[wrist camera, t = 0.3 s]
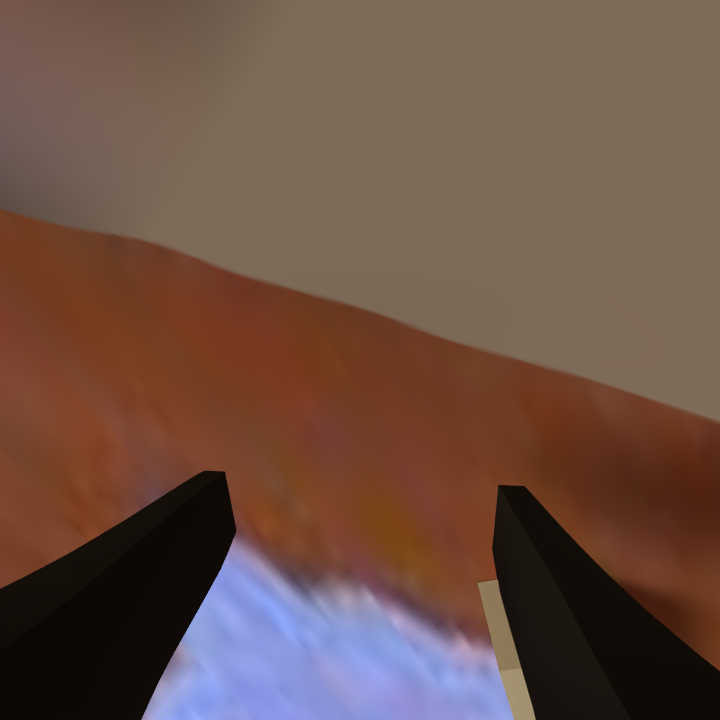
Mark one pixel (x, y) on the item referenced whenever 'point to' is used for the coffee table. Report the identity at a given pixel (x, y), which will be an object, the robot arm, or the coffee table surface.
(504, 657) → the block with holes
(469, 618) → the coffee table surface
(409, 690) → the coffee table surface
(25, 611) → the robot arm
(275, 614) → the coffee table surface
